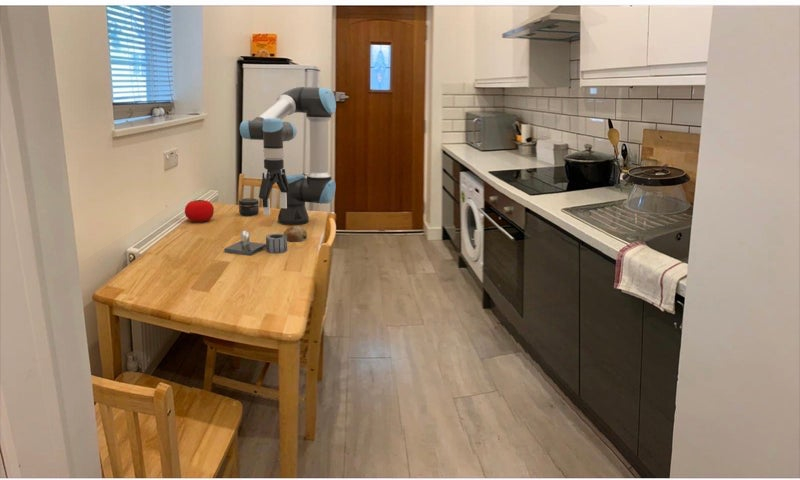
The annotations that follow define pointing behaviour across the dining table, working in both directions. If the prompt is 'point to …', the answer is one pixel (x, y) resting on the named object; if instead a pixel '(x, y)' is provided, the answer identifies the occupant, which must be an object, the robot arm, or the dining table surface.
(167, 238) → the dining table surface
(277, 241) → the tube
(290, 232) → the bread roll
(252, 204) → the jar
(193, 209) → the tomato
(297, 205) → the robot arm
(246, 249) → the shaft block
